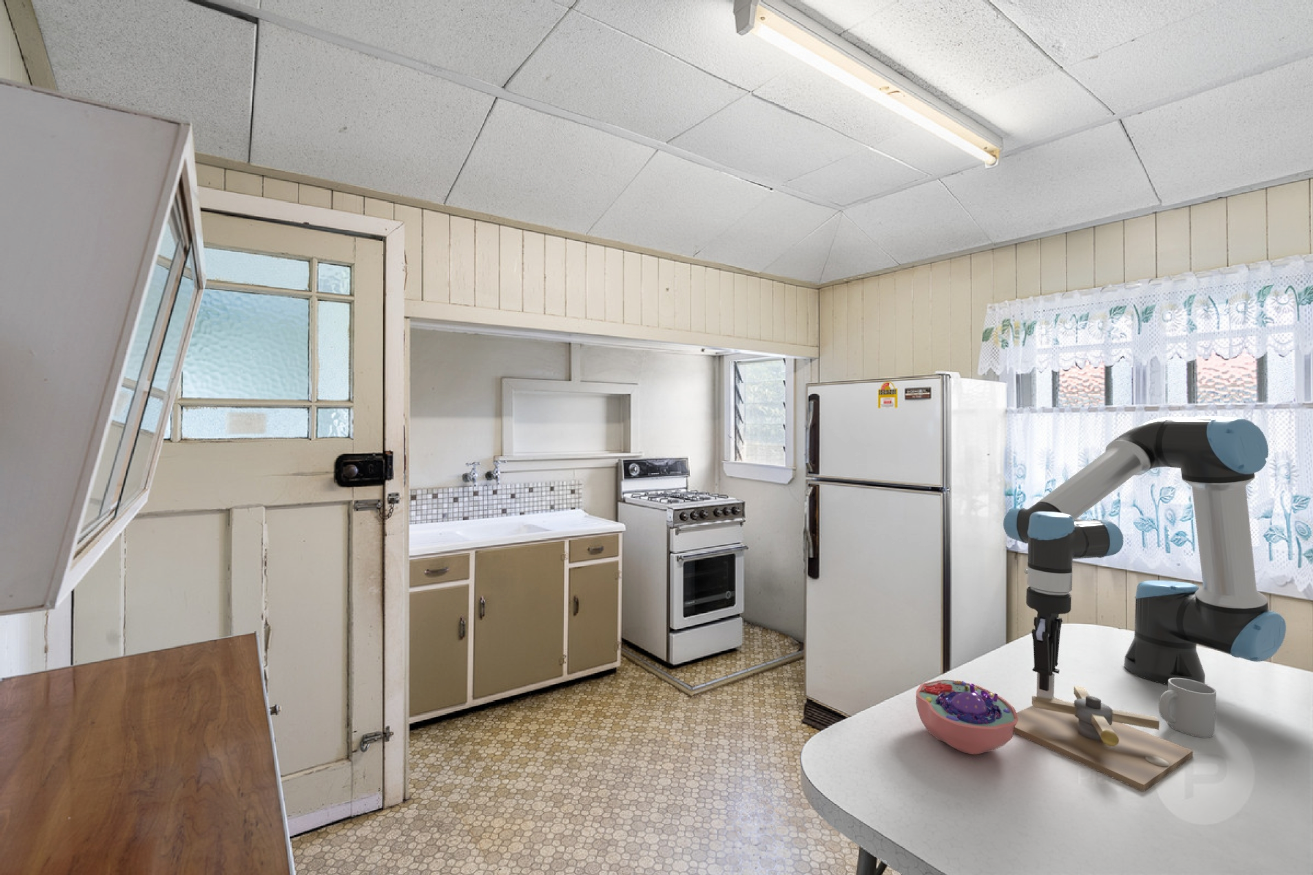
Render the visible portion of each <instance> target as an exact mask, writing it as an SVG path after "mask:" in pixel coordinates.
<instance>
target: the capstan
mask: <svg viewBox="0 0 1313 875" xmlns="http://www.w3.org/2000/svg"><path fill="white" fill-rule="evenodd" d="M1073 695H1074V696H1075V698H1076V699H1074V701H1073V702H1071V701H1065V700H1062V701H1060V700H1061V699H1060V700H1054V699H1048V698H1042V697H1037V695H1032V696H1031V706H1033V707H1034V708H1039V709H1045V710H1050V711H1056V712H1062V713H1067V714H1073V715H1075V716H1076V717H1077V718H1078V719H1080V720H1082V721H1084V722H1087V723H1089V724H1093V725H1094V727H1095V729H1096V730H1097V732H1098V733H1099V735H1100V737H1101V740H1102V741H1103V742H1104V743H1105V744H1106V745H1108V746H1116V745H1117V744H1118V743H1119V738H1118V736H1117V735H1116V734H1115V733H1114V731H1113V730H1112V728H1111V727H1110V725H1112V722H1118V723H1122V724H1125V725H1128V726H1135V727H1141V728H1147V729H1153V730H1158V731H1160V720H1159V719H1158V718H1157V717H1156V716H1154V715H1153V716H1152V715H1146V714H1140V713H1134V712H1128V711H1123V710H1118V709H1112V708H1111V706H1109V705H1107V704H1105V703H1103V702H1102V700H1101V699H1100V698H1098V697H1096V696H1092V695H1090V694H1089V693H1088V691H1087V690H1086V688H1085V687H1084V686H1083V687H1082V686H1076V685H1074V686H1073Z"/></svg>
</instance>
